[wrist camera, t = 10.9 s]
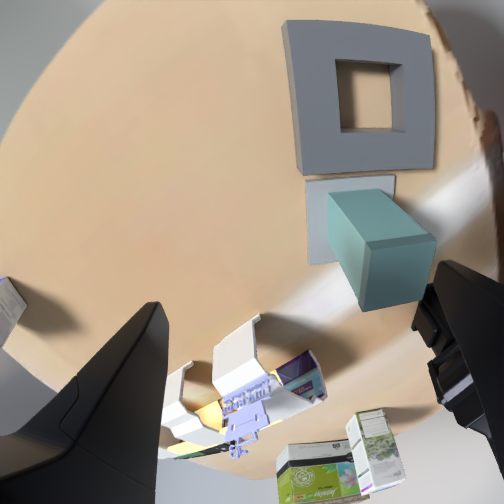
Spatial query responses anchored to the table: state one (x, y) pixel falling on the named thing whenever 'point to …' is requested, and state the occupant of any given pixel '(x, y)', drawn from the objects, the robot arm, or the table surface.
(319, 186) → the pad
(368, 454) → the syrup box
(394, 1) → the table surface
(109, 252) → the table surface
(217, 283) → the table surface
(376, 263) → the plug
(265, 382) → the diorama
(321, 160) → the socket
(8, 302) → the medicine box
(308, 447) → the tea box
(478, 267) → the table surface
